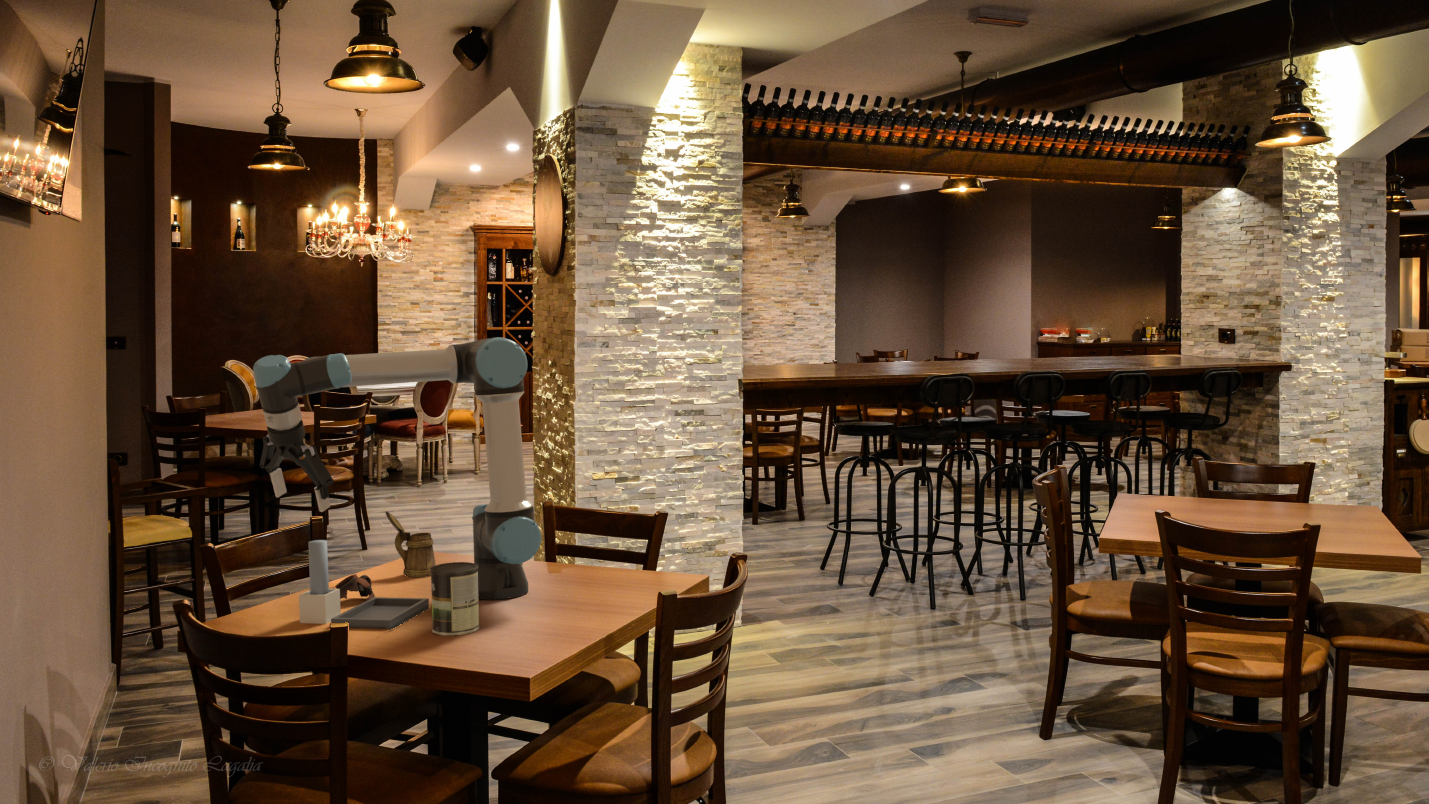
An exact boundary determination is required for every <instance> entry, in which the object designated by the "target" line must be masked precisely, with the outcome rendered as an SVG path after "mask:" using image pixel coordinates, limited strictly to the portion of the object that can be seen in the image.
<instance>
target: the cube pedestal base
mask: <svg viewBox="0 0 1429 804" xmlns="http://www.w3.org/2000/svg"><path fill="white" fill-rule="evenodd" d="M298 605H299V607H298V609H299V610H298V611H299V624H316V625H317V624H320V625H325V624H329V623H331V619H332V618H333V617H335V616H337V615H339V614H341V599H340V589H337V588H335V589H333V588H329V593H327V594H325V595H310V589H309V590H307V591H304V592H302V593H300V594H298Z"/></svg>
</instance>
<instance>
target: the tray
mask: <svg viewBox="0 0 1429 804" xmlns="http://www.w3.org/2000/svg"><path fill="white" fill-rule="evenodd" d="M427 609H428V610H429V609H430V600H429V598H425V597H424V598H423V597H420V598H419V597H417V598H416V597H385V596H384V597H382V596H379V597H378V596H375V597H373V598H371V599H369V600H367V599H366V600H365V601H364V602H361V603H359V604H358V605H356V606H354V607H352V608H350V609H348V610H346V611H345V610H344V612H342V613H341V612H340V613H341V614H339V615H337V616H335V617H333V618H332V619H331V622H330V624H331V623H345V622H348V623H349V627H350V628H349V629H370V630H371V629H372V630H373V629H374V630H375V629H376V630H378V629H379V630H391V629H393V628H395V627H397V626H399V625H400V624H402V625H404V624H405V623H404V622H406V621H407V622H409V621H410V620H409V619H411V620H412V618H413V617H414V618H416V617H417V616H416V615H418V616H420V615H421V614H422V612H423V611H424V612H426V611H428V610H427ZM424 612H423V613H424ZM420 613H421V614H420ZM415 616H416V617H415ZM414 618H413V619H414ZM408 620H409V621H408ZM407 622H406V623H407ZM403 623H404V624H403ZM399 627H400V626H399ZM397 628H398V627H397Z"/></svg>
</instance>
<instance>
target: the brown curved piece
mask: <svg viewBox="0 0 1429 804" xmlns="http://www.w3.org/2000/svg"><path fill="white" fill-rule="evenodd" d="M332 589H340V600H341V599H346V600H347V599H348V592H358V593H359V596H360V597H361V598H364V597H366V601H367V600H369V599H371V598H373V597H376V596H375V593H374V591H373V588H372V579H371V578H370V577H369V576H368V575H366V574H363V575H361V576H358V574H355V573H354V574H352V575H348V576H347V577H345V578H344V579H341V580H340V582H339V583H337V584H336V585H335V586H334V587H333V588H332Z"/></svg>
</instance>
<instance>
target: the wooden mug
mask: <svg viewBox="0 0 1429 804" xmlns="http://www.w3.org/2000/svg"><path fill="white" fill-rule="evenodd" d="M385 516H386V517H387V519H388V521H389V522H390V524H391V525H392V527H393V528H394V529H395V530H396V531H397V534H396V535H395V538H394V546H395V549H396V551H397V553H398V554H399V556H400V558H401V559H402V561H403V565H404V568H403V572H402V574H403V575H404V576H405V575H406V576H405V577H407V576H408V578H425V576H427V577H431V572H430V568H431V567H433V566H436V565H437V563H436V558H435V553H434V546H433V545H434V540H433V538H432V534H431V532H416V533H413V534H411V533H410V531H405V529H404V527H403V526H402V524H401V523H400V521H399V520H398V519H397V517H395V516H394V514H391V513H390V512H388V511H385ZM404 542H405V547H407V549H403V546H402V544H403V543H404Z"/></svg>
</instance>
